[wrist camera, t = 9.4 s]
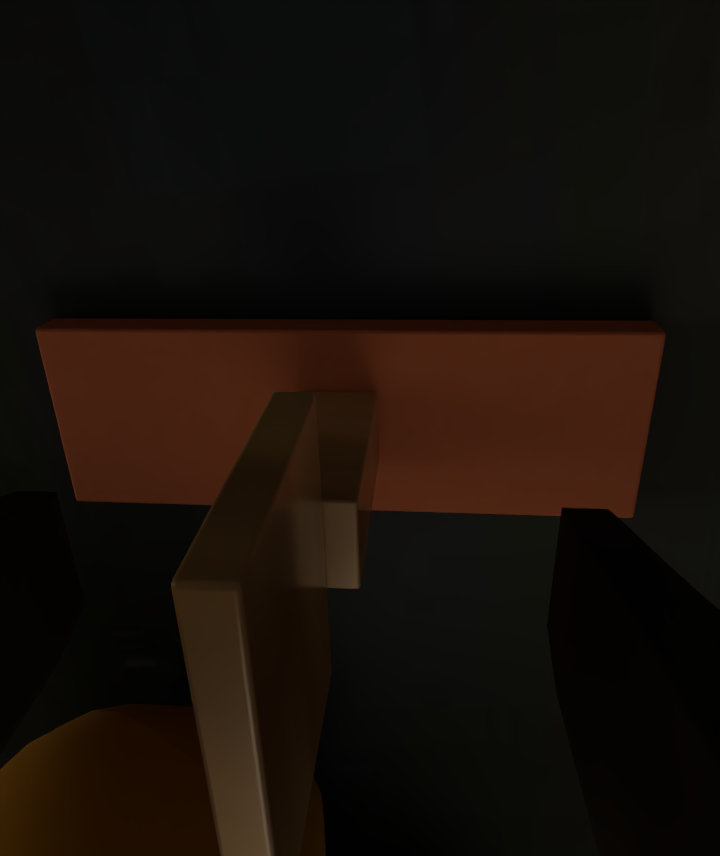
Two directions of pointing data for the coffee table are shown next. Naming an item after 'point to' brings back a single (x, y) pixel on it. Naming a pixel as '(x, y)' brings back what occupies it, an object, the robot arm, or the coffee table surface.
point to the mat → (363, 372)
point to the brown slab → (274, 608)
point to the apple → (119, 789)
